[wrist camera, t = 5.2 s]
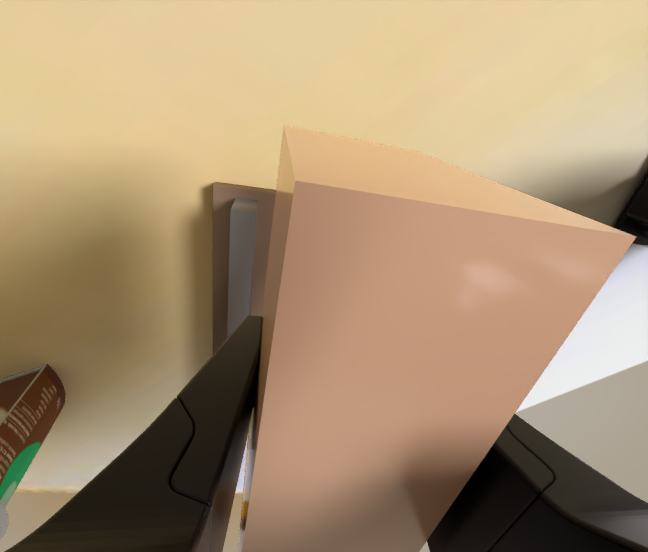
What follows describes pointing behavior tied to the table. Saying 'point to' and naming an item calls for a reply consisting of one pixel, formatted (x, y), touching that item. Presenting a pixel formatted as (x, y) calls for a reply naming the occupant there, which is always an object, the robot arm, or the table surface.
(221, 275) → the ribbed brown panel
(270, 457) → the terracotta strip
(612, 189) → the table surface
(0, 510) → the food container
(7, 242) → the table surface
